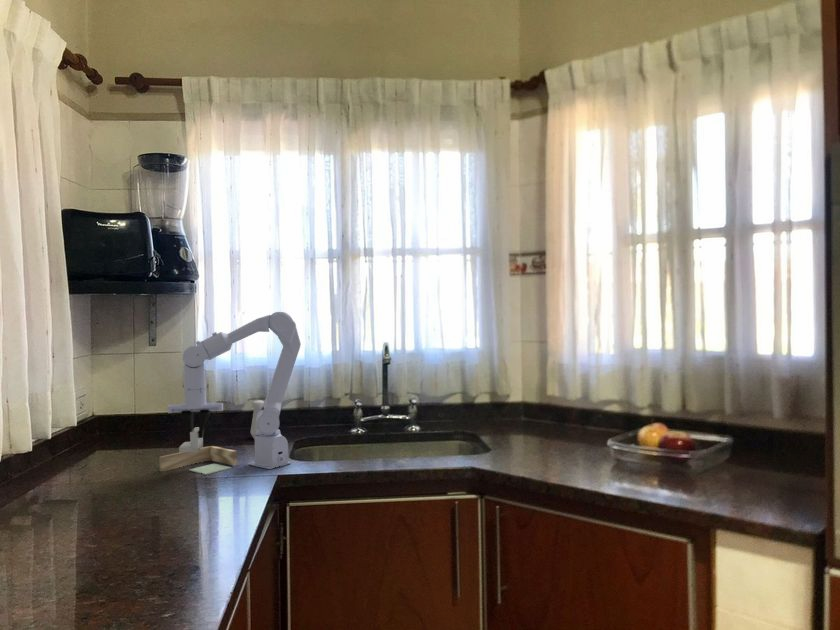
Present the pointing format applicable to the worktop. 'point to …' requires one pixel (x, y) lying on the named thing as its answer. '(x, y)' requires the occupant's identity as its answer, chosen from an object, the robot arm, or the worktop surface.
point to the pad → (210, 469)
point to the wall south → (223, 455)
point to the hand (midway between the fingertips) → (196, 437)
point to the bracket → (192, 442)
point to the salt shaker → (257, 406)
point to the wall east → (184, 459)
